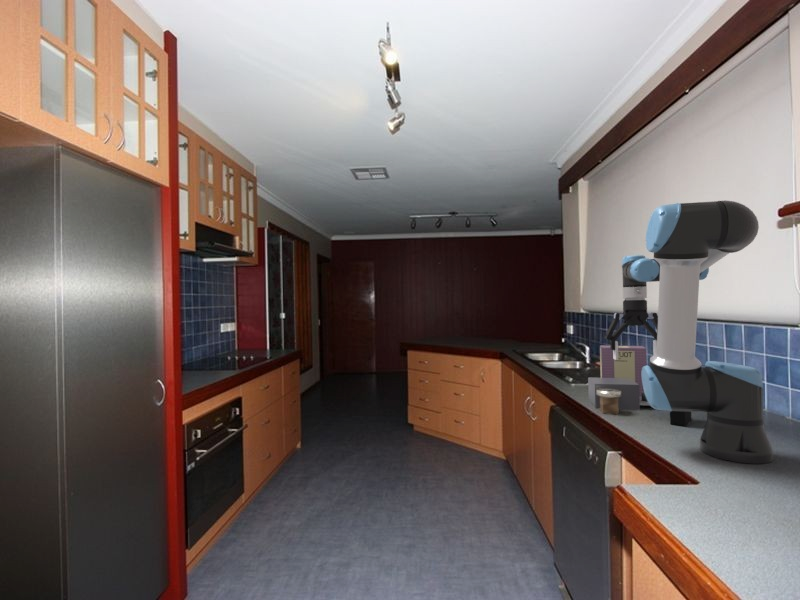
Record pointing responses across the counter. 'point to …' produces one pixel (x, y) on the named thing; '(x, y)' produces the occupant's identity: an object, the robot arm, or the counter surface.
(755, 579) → the counter surface
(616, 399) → the wooden block
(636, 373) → the box
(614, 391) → the disc
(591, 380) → the housing
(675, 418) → the electronic device
